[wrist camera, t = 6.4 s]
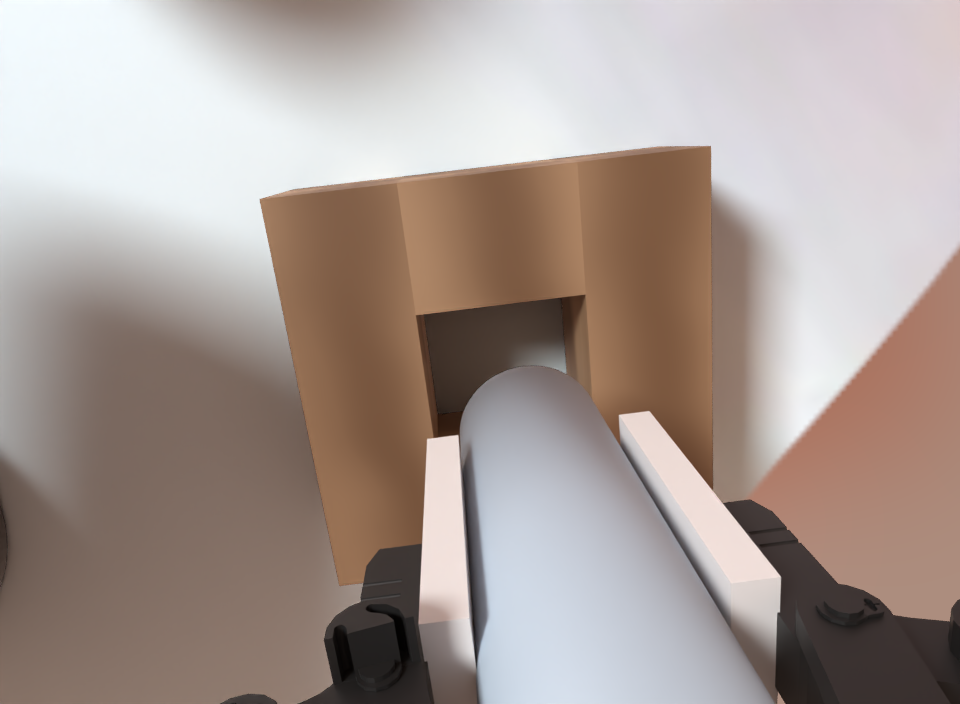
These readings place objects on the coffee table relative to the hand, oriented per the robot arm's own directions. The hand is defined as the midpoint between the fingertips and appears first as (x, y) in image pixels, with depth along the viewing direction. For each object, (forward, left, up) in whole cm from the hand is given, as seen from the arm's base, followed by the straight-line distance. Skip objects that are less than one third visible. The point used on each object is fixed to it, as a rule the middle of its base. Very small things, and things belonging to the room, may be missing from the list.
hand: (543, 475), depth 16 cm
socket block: (0, 0, -11) cm, 11 cm away
